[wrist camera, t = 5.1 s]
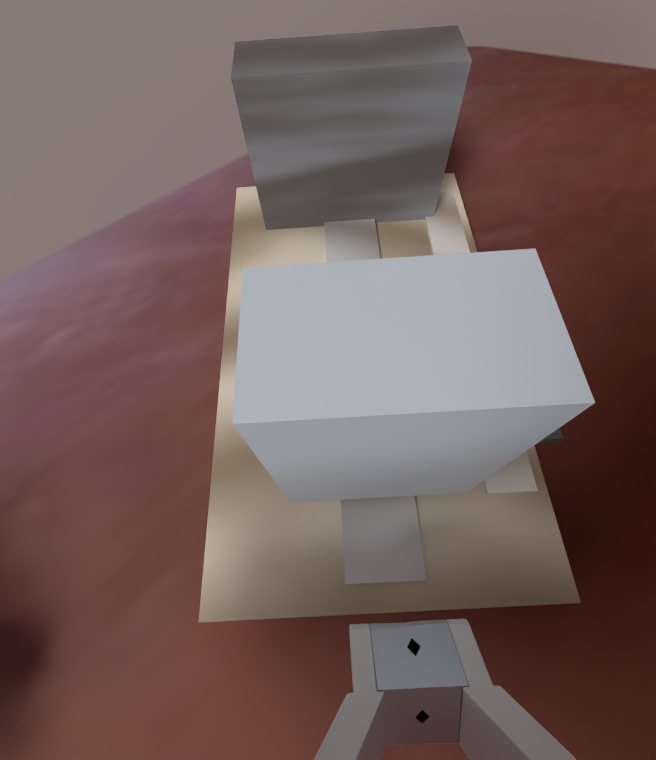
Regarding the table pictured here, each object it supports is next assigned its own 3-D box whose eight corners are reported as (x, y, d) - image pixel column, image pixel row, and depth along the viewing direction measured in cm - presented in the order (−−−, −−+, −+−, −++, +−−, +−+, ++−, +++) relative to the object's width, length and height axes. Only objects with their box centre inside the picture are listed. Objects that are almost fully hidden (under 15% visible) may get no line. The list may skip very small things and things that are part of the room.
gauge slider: (567, 487, 15) (807, 389, 7) (290, 502, 16) (232, 424, 8) (528, 365, 18) (676, 194, 10) (290, 380, 18) (245, 223, 10)
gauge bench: (560, 600, 16) (818, 629, 7) (211, 618, 16) (54, 667, 7) (448, 193, 26) (497, 11, 18) (242, 207, 27) (193, 34, 18)
